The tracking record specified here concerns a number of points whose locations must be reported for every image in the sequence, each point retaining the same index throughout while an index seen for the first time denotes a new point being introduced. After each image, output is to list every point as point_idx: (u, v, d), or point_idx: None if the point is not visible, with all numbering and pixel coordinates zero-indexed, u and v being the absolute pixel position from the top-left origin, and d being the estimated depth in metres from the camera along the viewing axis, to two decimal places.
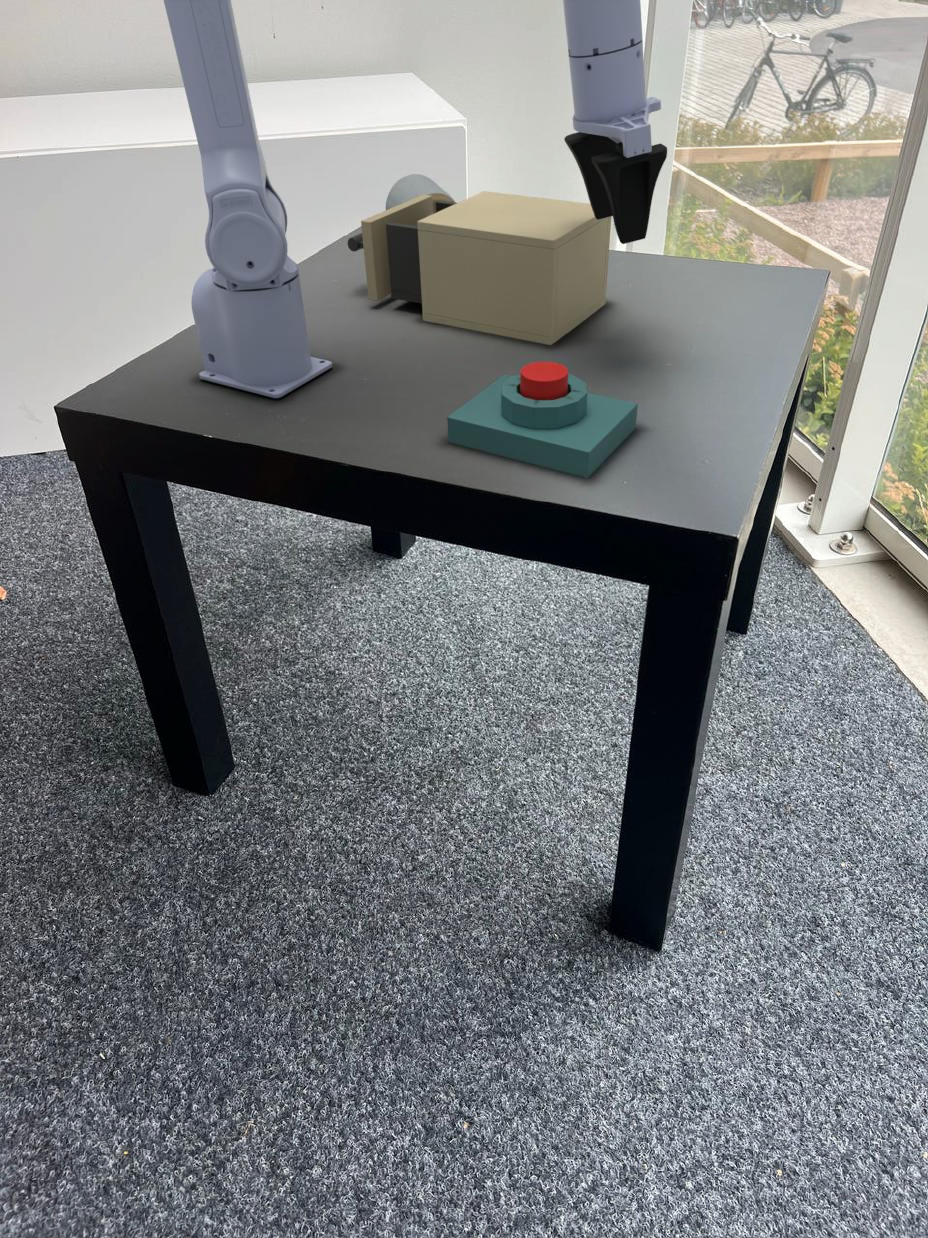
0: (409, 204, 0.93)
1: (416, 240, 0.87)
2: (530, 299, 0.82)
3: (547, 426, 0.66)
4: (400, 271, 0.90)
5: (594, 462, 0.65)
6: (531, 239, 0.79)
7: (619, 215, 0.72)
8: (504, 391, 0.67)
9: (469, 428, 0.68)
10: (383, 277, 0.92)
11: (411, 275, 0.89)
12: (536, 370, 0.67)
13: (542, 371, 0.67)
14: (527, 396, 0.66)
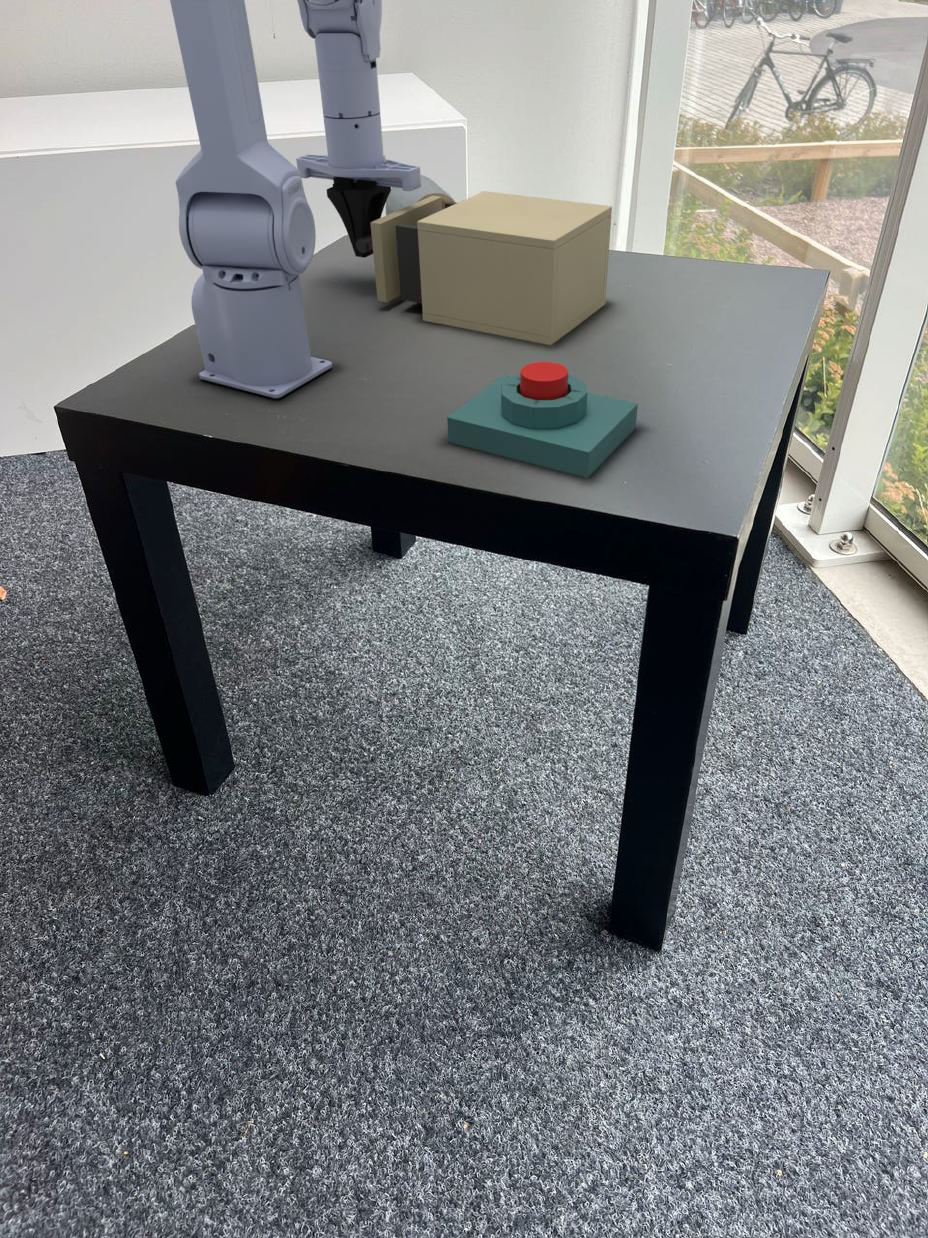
0: (418, 205, 0.92)
1: None
2: (530, 299, 0.82)
3: (547, 426, 0.66)
4: (410, 273, 0.89)
5: (594, 462, 0.65)
6: (531, 239, 0.79)
7: (364, 234, 0.94)
8: (504, 391, 0.67)
9: (469, 428, 0.68)
10: (393, 278, 0.92)
11: None
12: (536, 370, 0.67)
13: (542, 371, 0.67)
14: (527, 396, 0.66)
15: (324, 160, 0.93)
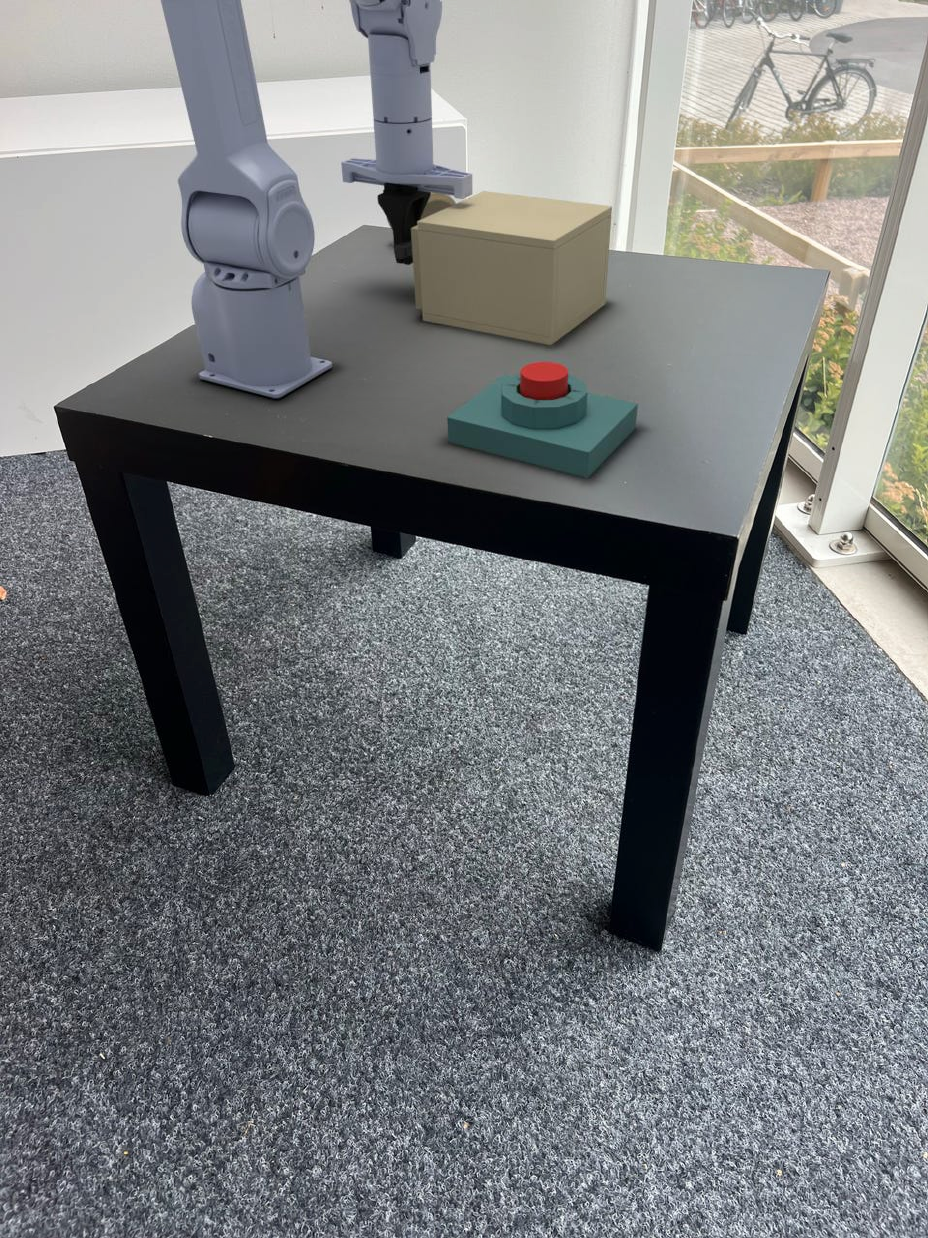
0: None
1: None
2: (530, 299, 0.82)
3: (547, 426, 0.66)
4: None
5: (594, 462, 0.65)
6: (531, 239, 0.79)
7: (402, 240, 0.92)
8: (504, 391, 0.67)
9: (469, 428, 0.68)
10: None
11: None
12: (536, 370, 0.67)
13: (542, 371, 0.67)
14: (527, 396, 0.66)
15: (370, 164, 0.90)
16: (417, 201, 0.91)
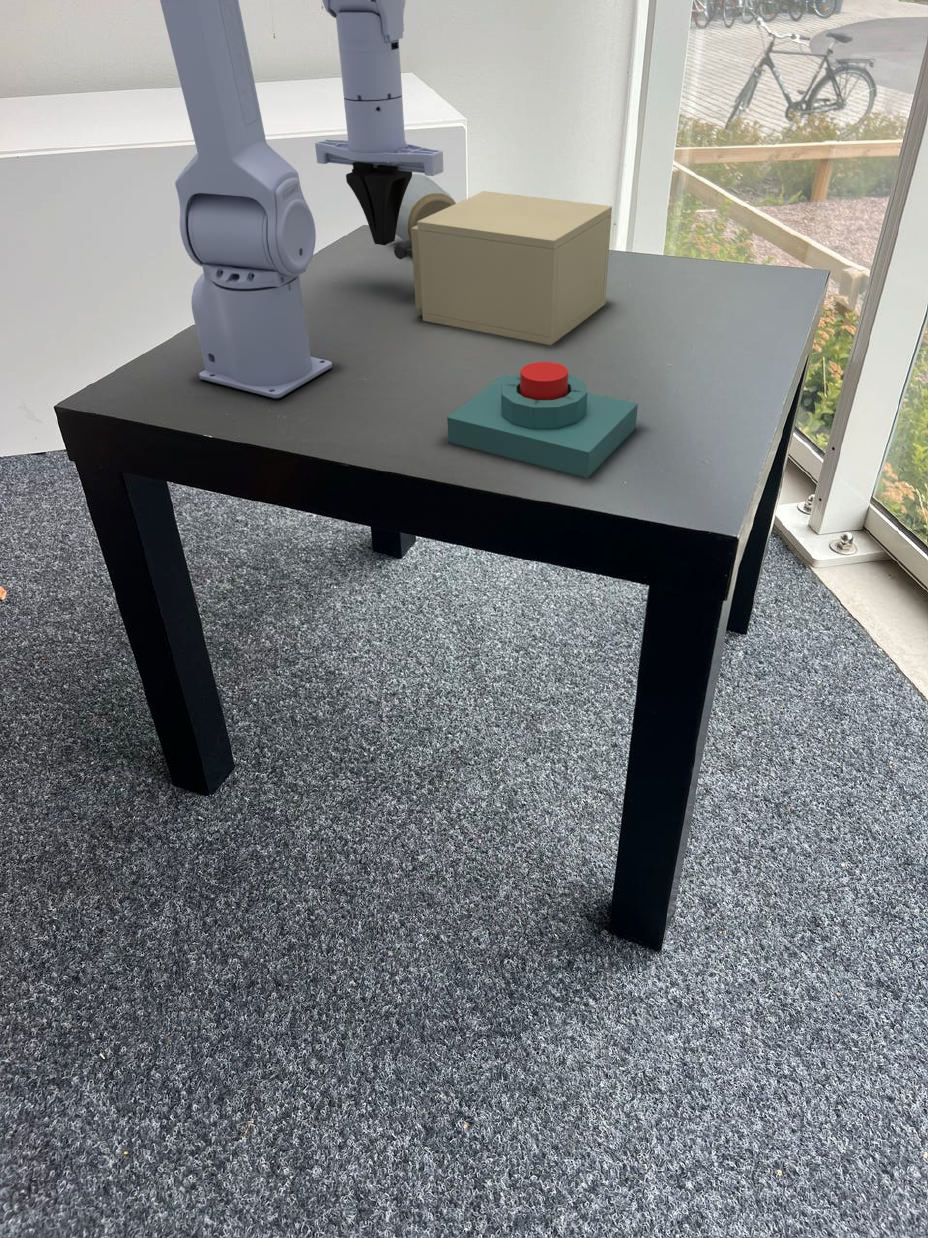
0: None
1: None
2: (530, 299, 0.82)
3: (547, 426, 0.66)
4: None
5: (594, 462, 0.65)
6: (531, 239, 0.79)
7: (384, 221, 0.92)
8: (504, 391, 0.67)
9: (469, 428, 0.68)
10: None
11: None
12: (536, 370, 0.67)
13: (542, 371, 0.67)
14: (527, 396, 0.66)
15: (344, 145, 0.91)
16: None
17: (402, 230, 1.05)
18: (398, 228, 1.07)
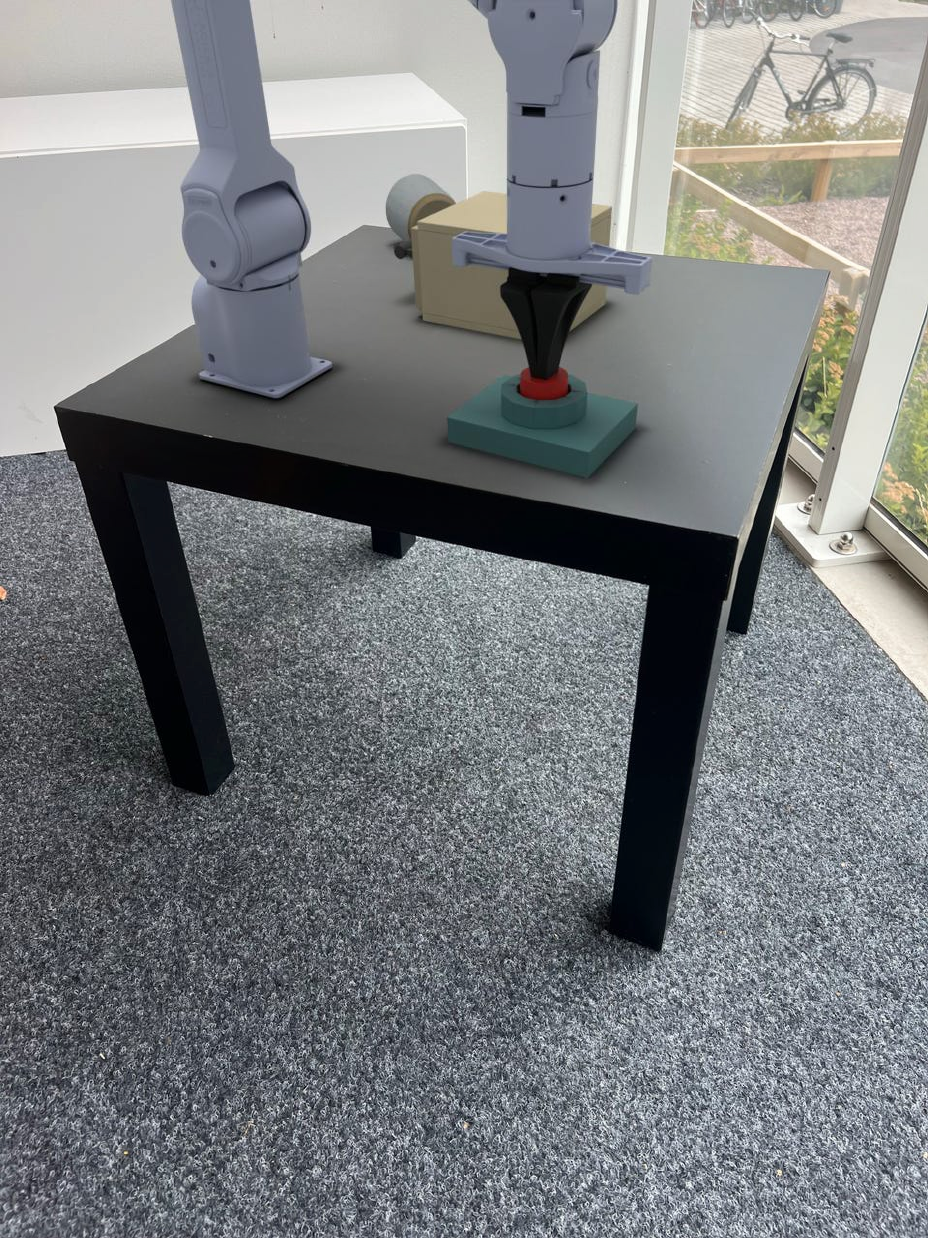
0: None
1: None
2: None
3: (547, 426, 0.66)
4: None
5: (594, 462, 0.65)
6: None
7: (550, 350, 0.64)
8: (504, 391, 0.67)
9: (469, 428, 0.68)
10: None
11: None
12: None
13: None
14: None
15: (495, 242, 0.63)
16: None
17: (402, 230, 1.05)
18: (398, 228, 1.07)
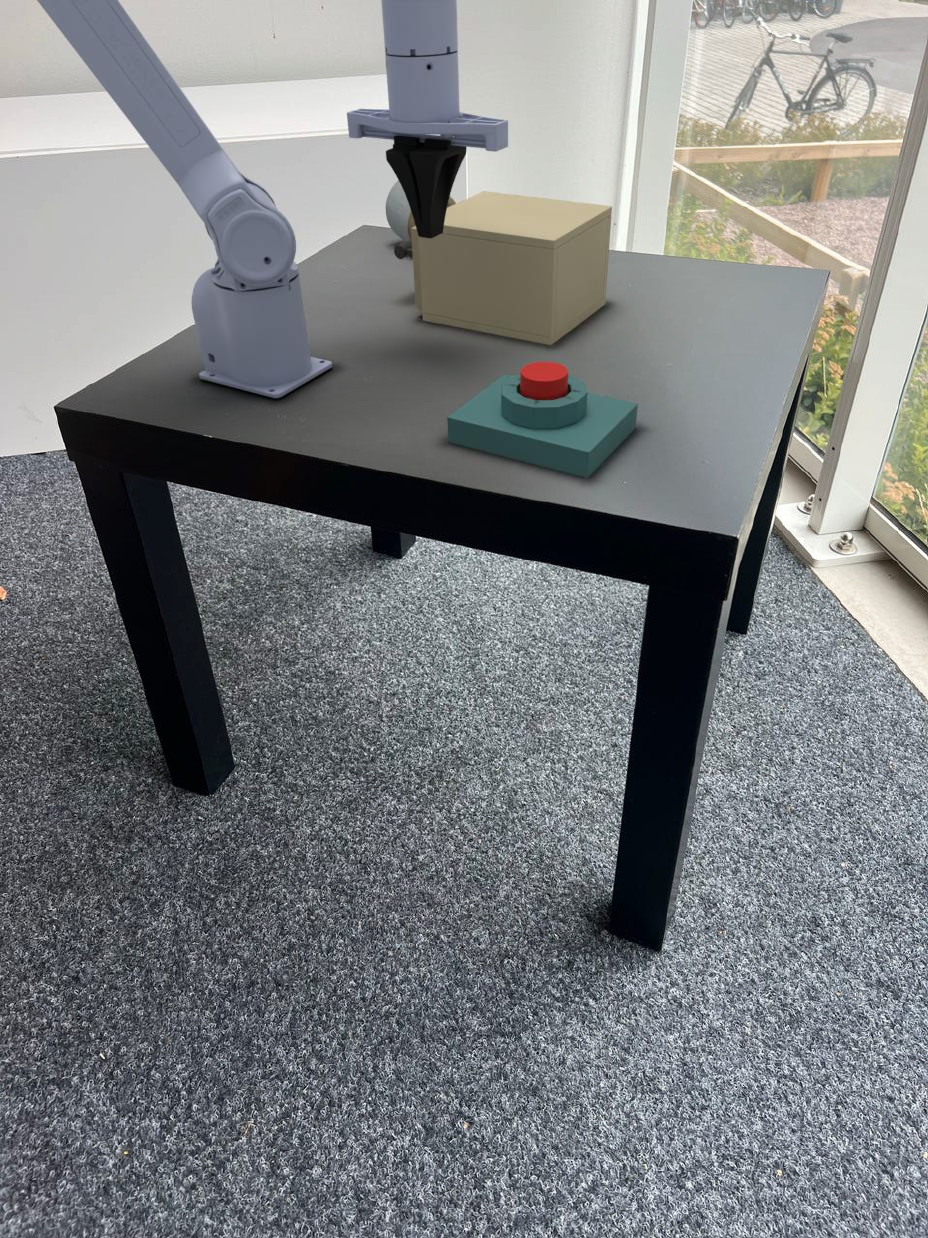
0: None
1: None
2: (530, 299, 0.82)
3: (547, 426, 0.66)
4: None
5: (594, 462, 0.65)
6: (531, 239, 0.79)
7: (431, 208, 0.75)
8: (504, 391, 0.67)
9: (469, 428, 0.68)
10: None
11: None
12: (536, 370, 0.67)
13: (542, 371, 0.67)
14: (527, 396, 0.66)
15: (382, 114, 0.74)
16: None
17: (402, 230, 1.05)
18: (398, 228, 1.07)
